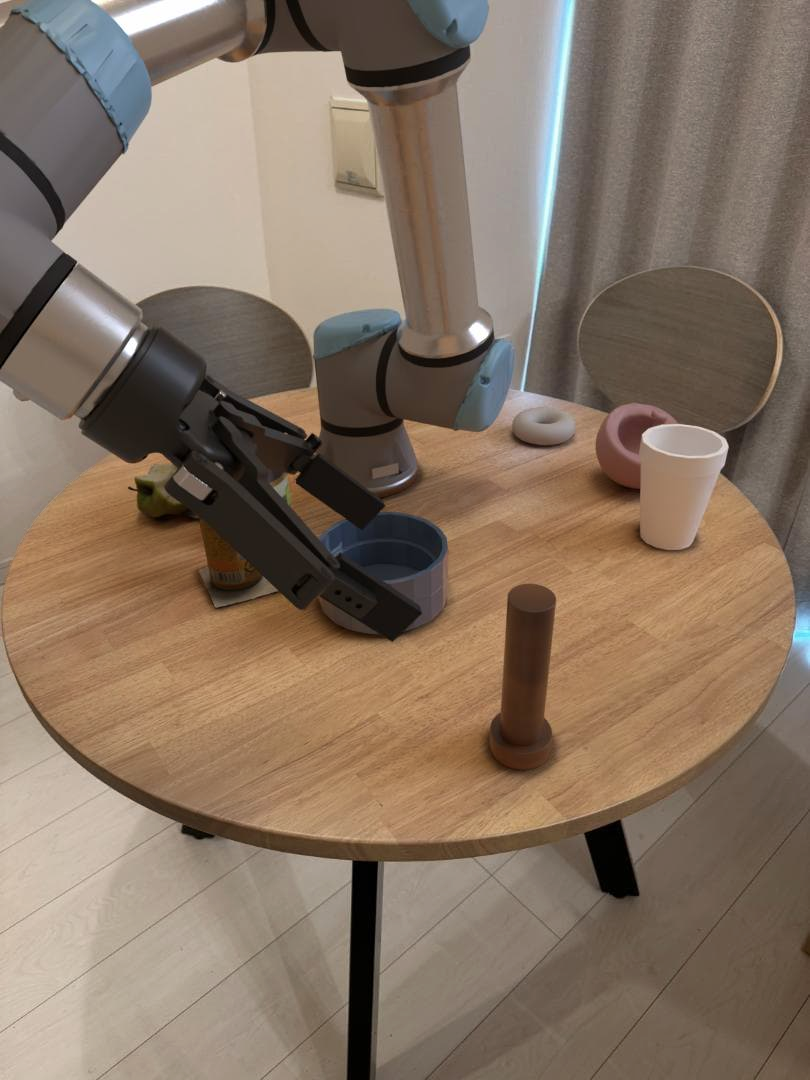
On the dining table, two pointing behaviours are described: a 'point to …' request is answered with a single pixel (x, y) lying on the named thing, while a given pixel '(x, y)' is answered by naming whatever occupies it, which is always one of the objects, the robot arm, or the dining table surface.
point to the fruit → (158, 493)
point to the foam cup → (677, 482)
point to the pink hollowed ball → (626, 440)
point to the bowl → (394, 561)
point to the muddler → (525, 679)
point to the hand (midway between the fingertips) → (388, 564)
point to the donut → (543, 426)
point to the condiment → (229, 572)
